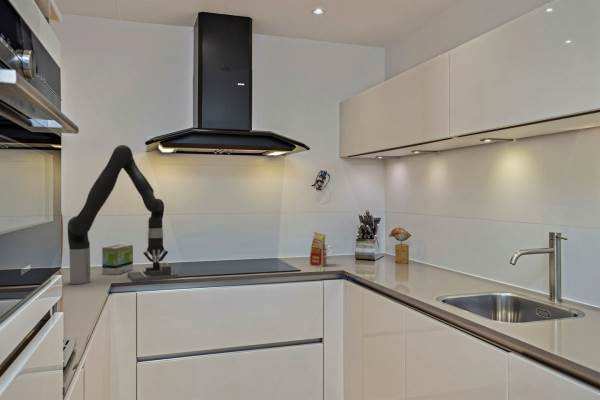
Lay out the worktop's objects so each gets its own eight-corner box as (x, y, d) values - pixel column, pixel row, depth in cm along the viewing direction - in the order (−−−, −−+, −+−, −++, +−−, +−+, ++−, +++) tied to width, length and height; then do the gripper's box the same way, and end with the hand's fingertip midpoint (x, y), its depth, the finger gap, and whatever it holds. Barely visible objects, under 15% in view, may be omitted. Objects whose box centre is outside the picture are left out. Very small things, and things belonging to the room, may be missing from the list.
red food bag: (309, 266, 267) (308, 232, 266) (313, 263, 275) (313, 231, 275) (324, 267, 264) (323, 233, 263) (328, 264, 272) (328, 231, 272)
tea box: (118, 274, 246) (117, 247, 246) (101, 274, 248) (101, 247, 248) (133, 269, 261) (133, 244, 260) (118, 269, 263) (117, 243, 262)
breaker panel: (133, 282, 226) (132, 270, 226) (127, 276, 242) (127, 265, 241) (177, 278, 236) (177, 266, 236) (169, 272, 252) (169, 261, 252)
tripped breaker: (160, 273, 239) (160, 263, 239) (159, 272, 242) (159, 262, 242) (168, 272, 241) (168, 262, 241) (167, 271, 244) (167, 262, 244)
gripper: (166, 235, 245) (167, 267, 246) (141, 236, 239) (141, 269, 240) (169, 236, 239) (170, 269, 239) (143, 237, 233) (144, 271, 233)
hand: (155, 269), depth 239 cm, fingers closed
